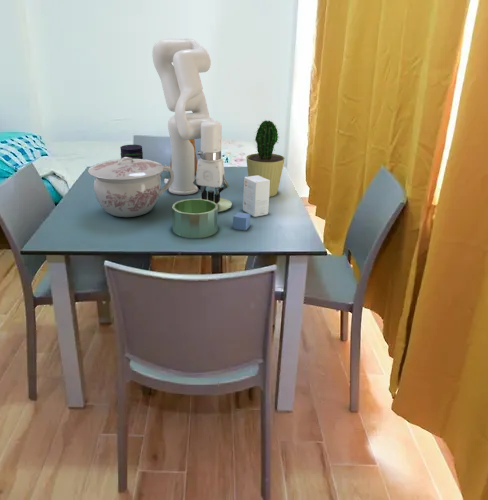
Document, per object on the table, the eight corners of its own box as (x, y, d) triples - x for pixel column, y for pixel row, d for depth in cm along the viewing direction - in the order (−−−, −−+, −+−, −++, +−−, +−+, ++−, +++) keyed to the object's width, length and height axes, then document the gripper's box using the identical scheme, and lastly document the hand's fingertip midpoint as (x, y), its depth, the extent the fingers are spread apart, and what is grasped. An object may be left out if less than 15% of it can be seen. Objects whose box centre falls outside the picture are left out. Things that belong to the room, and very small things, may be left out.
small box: (268, 214, 180) (270, 180, 174) (254, 217, 177) (255, 182, 172) (256, 207, 186) (258, 174, 181) (242, 210, 184) (243, 176, 178)
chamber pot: (77, 219, 177) (71, 163, 169) (115, 196, 201) (111, 146, 192) (147, 229, 168) (144, 170, 159) (178, 204, 191) (176, 151, 182)
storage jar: (127, 184, 216) (125, 150, 210) (119, 178, 224) (116, 146, 218) (147, 180, 221) (146, 147, 214) (138, 175, 228) (137, 143, 222)
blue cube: (233, 228, 167) (233, 216, 166) (237, 224, 171) (237, 212, 169) (245, 230, 166) (246, 218, 164) (249, 226, 170) (250, 213, 168)
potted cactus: (237, 193, 202) (239, 119, 190) (257, 184, 213) (261, 114, 200) (269, 201, 193) (274, 124, 181) (289, 191, 204) (294, 118, 191)
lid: (182, 210, 185) (182, 195, 182) (199, 197, 198) (199, 183, 196) (223, 216, 179) (223, 200, 176) (237, 202, 192) (238, 187, 189)
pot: (165, 234, 164) (164, 210, 160) (184, 219, 176) (183, 196, 173) (207, 241, 158) (207, 216, 154) (223, 225, 171) (224, 202, 167)
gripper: (185, 155, 180) (186, 202, 188) (228, 160, 174) (227, 208, 182) (194, 151, 187) (194, 197, 194) (235, 155, 180) (234, 202, 188)
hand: (210, 202), depth 188 cm, fingers open, 4 cm apart
